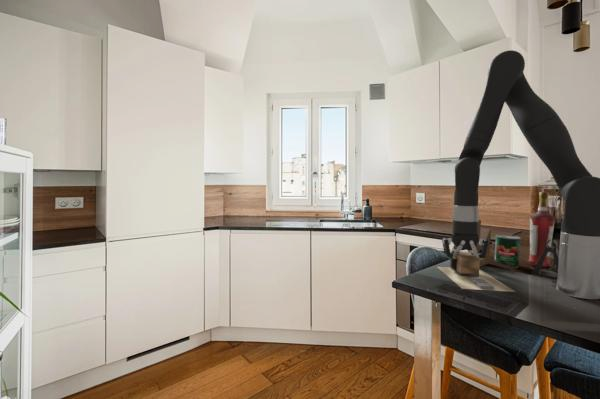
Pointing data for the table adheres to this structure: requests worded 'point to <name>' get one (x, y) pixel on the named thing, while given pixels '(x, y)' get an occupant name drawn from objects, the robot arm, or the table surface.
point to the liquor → (540, 231)
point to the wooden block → (486, 234)
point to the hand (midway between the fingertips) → (464, 269)
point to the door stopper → (541, 260)
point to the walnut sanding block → (467, 264)
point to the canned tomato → (507, 250)
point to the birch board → (466, 281)
